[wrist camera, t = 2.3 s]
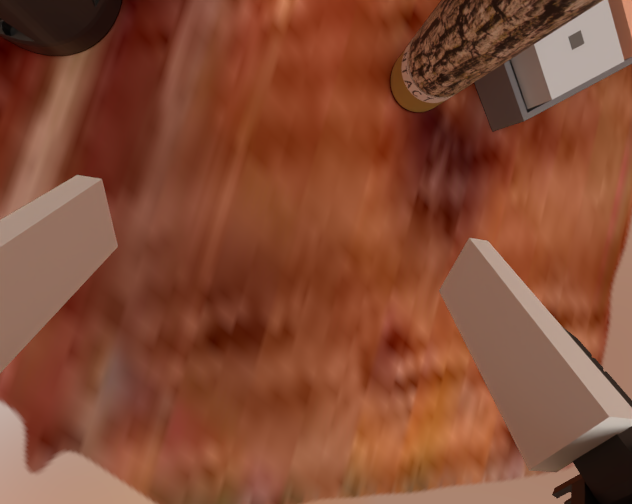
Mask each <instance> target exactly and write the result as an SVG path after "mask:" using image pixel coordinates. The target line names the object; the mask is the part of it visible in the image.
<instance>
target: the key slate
mask: <svg viewBox="0 0 632 504" xmlns="http://www.w3.org/2000/svg"><path fill="white" fill-rule="evenodd" d="M510 60H511V63H512V66H513V69H514V72H515V74H516V77H517V80H518V83H519V86H520V89H521V92H522V95H523V98H524V100H525V103H526V106H527V109H529V108H532V107H535V106H537V105H540V104H542V103H545V102H548V101H550V100H553V99H555V98H557V97H558V96H560V95H562V94H564V93H566V92H568V91H570V90H571V89H573V88H575V87H577V86H579V85H581V84H583V83H585V82H586V81H588V80H590V79H592V78H594V77H596V76H598V75H600V74H601V73H603V72H605V71H607V70H609V69H611V68H613V67H615V66H616V65H618V64H620V63H622V62H624V57H623V54H622V50H621V46H620V43H619V39H618V35H617V32H616V28H615V24H614V21H613V17H612V13H611V10H610V6H609V2H608V0H603V1H601V2H600V3H598V4H597V5H595V6H594V7H592V8H590V9H589V10H587V11H586V12H584V13H583V14H581V15H579V16H578V17H576V18H575V19H573V20H572V21H570V22H568V23H567V24H565V25H564V26H562V27H561V28H559V29H557V30H556V31H554V32H553V33H551V34H550V35H548V36H546V37H545V38H543V39H542V40H540V41H539V42H537V43H535V44H534V45H532V46H531V47H529V48H528V49H526V50H524V51H523V52H521V53H520V54H518V55H517V56H515V57H513V58H512V59H510Z"/></svg>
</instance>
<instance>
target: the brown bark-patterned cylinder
mask: <svg viewBox="0 0 632 504" xmlns="http://www.w3.org/2000/svg"><path fill="white" fill-rule="evenodd" d="M601 1H603V0H441V2H440V3H439V4H438V6H437V7H436V8H435V10H434V11H433V12H432V14H431V15H430V16H429V18H428V19H427V20H426V22H425V23H424V24H423V26H422V27H421V28H420V30H419V31H418V32H417V34H416V35H415V36H414V38H413V39H412V40H411V42H410V43H409V44H408V46H407V47H406V49H405V50H404V51H403V53H402V54H401V55H400V57H399V58H398V59H397V61H396V63H395V64H394V67H393V69H392V73H391V89H392V92H393V95H394V97H395V99H396V100H397V102H398V103H399V104H400V105H401V106H402V107H404V108H405V109H407V110H409V111H413V112H425V111H428V110H431V109H433V108H434V107H436V106H437V105H439V104H441V103H442V102H444V101H445V100H447V99H449V98H450V97H452V96H454V95H455V94H457V93H458V92H460V91H461V90H463V89H465V88H466V87H468V86H469V85H471V84H472V83H474V82H476V81H477V80H479V79H480V78H482V77H483V76H485V75H487V74H488V73H490V72H491V71H493V70H494V69H496V68H498V67H499V66H501V65H502V64H504V63H505V62H507V61H509V60H510V59H512V58H513V57H515V56H517V55H518V54H520V53H521V52H523V51H524V50H526V49H528V48H529V47H531V46H532V45H534V44H535V43H537V42H539V41H540V40H542V39H543V38H545V37H546V36H548V35H550V34H551V33H553V32H554V31H556V30H557V29H559V28H561V27H562V26H564V25H565V24H567V23H568V22H570V21H572V20H573V19H575V18H576V17H578V16H579V15H581V14H583V13H584V12H586V11H587V10H589V9H590V8H592V7H594V6H595V5H597V4H598V3H600V2H601Z"/></svg>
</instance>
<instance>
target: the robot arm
mask: <svg viewBox="0 0 632 504" xmlns="http://www.w3.org/2000/svg"><path fill="white" fill-rule="evenodd" d="M121 1H122V0H0V36H1V37H3V38H4V39H6V40H8V41H10V42H12V43H14V44H15V45H17V46H19V47H21V48H24V49H26V50H29V51H32V52H35V53H39V54H44V55H51V56H62V55H70V54H74V53H78V52H81V51H83V50H85V49H87V48H89V47H91V46H93V45H94V44H95V43H97V42H98V41H99V40H100V39H102V38H103V37H104V35H105V34H106V33H107V32H108V31H109V29H110V28H111V26H112V25H113V23H114V21H115V19H116V17H117V15H118V12H119V9H120V5H121ZM117 247H118V244H117V240H116V236H115V232H114V227H113V223H112V219H111V215H110V211H109V206H108V202H107V198H106V194H105V189H104V185H103V181H102V179H100V178H93V177H87V176H81V175H76V176H74V177H73V178H71V179H69V180H68V181H66V182H64V183H62V184H61V185H59V186H57V187H56V188H54V189H52V190H50V191H49V192H47V193H45V194H44V195H42V196H40V197H38V198H37V199H35V200H33V201H32V202H30V203H28V204H26V205H25V206H23V207H21V208H20V209H18V210H16V211H14V212H13V213H11V214H9V215H8V216H6V217H4V218H2V219H1V220H0V373H1V372H2V371H3V370H4V369H5V367H6V366H7V365H8V364H9V363H10V362H11V361H12V360H13V359H14V358H15V357H16V356H17V355H18V353H19V352H20V351H21V350H22V349H23V348H24V347H25V346H26V345H27V344H28V343H29V342H30V341H31V340H32V338H33V337H34V336H35V335H36V334H37V333H38V332H39V331H40V330H41V329H42V328H43V327H44V326H45V324H46V323H47V322H48V321H49V320H50V319H51V318H52V317H53V316H54V315H55V314H56V313H57V312H58V311H59V309H60V308H61V307H62V306H63V305H64V304H65V303H66V302H67V301H68V300H69V299H70V298H71V297H72V295H73V294H74V293H75V292H76V291H77V290H78V289H79V288H80V287H81V286H82V285H83V284H84V283H85V282H86V280H87V279H88V278H89V277H90V276H91V275H92V274H93V273H94V272H95V271H96V270H97V269H98V268H99V266H100V265H101V264H102V263H103V262H104V261H105V260H106V259H107V258H108V257H109V256H110V255H111V254H112V253H113V251H114V250H115V249H116V248H117ZM439 291H440V293H441V295H442V297H443V299H444V301H445V303H446V305H447V307H448V309H449V311H450V313H451V315H452V317H453V319H454V321H455V323H456V325H457V327H458V329H459V331H460V333H461V335H462V337H463V339H464V341H465V343H466V345H467V347H468V349H469V351H470V353H471V355H472V357H473V359H474V361H475V363H476V365H477V367H478V369H479V371H480V373H481V375H482V377H483V379H484V381H485V383H486V385H487V387H488V389H489V391H490V393H491V395H492V397H493V399H494V401H495V403H496V405H497V407H498V409H499V411H500V413H501V415H502V417H503V419H504V421H505V423H506V425H507V427H508V429H509V431H510V433H511V435H512V437H513V439H514V441H515V443H516V445H517V447H518V449H519V451H520V453H521V455H522V457H523V459H524V461H525V463H526V465H527V467H528V469H529V470H531V471H546V472H557V471H559V470H561V469H562V468H564V467H566V466H567V465H569V464H570V463H572V462H573V463H574V464H575V466H576V468H577V469H578V471H579V472H580V474H579V475H577V476H575V477H574V478H572V479H570V480H568V481H567V482H565V483H563V484H561V485H560V486H558V487H556V488H555V489H554V492H553V494H552V495H553V496H555V497H556V498H559V497H560V496H562V495H564V494H566V493H568V492H571V493H572V494H571V498H570V499H568V500H567V501H565V503H564V504H632V400H631V399H630V398H629V397H628V396H627V395H626V394H625V392H624V391H623V390H622V389H621V388H620V387H619V385H617V383H616V382H615V381H614V380H613V379H612V377H611V376H610V375H609V374H608V373H607V372H604V371H603V367H602V366H601V365H600V364H599V363H598V361H597V360H596V359H595V358H592V357H591V354H590V352H589V351H588V350H587V349H586V348H585V347H584V346H583V344H582V343H581V342H580V341H579V340H578V339H577V338H576V337H575V336H573V335H572V334H571V333H570V332H568V331H567V330H566V329H565V328H563V327H562V326H561V325H560V324H559V323H558V322H557V320H556V319H555V318H554V317H553V316H552V315H551V314H550V312H549V311H548V310H547V309H546V308H545V307H544V305H543V304H542V303H541V302H540V301H539V300H538V298H537V297H536V296H535V295H534V294H533V293H532V292H531V290H530V289H529V288H528V287H527V286H526V285H525V283H524V282H523V281H522V280H521V279H520V278H519V276H518V275H517V274H516V273H515V272H514V271H513V270H512V268H511V267H510V266H509V265H508V264H507V263H506V261H505V260H504V259H503V258H502V257H501V256H500V254H499V253H498V252H497V251H496V250H495V249H494V248H493V246H492V245H491V244H490V243H489V242H488V241H486V240H480V239H474V238H469V239H468V241H467V243H466V244H465V246H464V248H463V250H462V251H461V253H460V255H459V257H458V258H457V260H456V262H455V264H454V265H453V267H452V269H451V271H450V272H449V274H448V276H447V278H446V279H445V281H444V283H443V285H442V286H441V288H440V290H439Z"/></svg>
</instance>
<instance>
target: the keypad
mask: <svg viewBox="0 0 632 504" xmlns="http://www.w3.org/2000/svg"><path fill="white" fill-rule="evenodd" d="M630 64H632V57H630V58H628V59H625V60H624V62H622V63H620V64H618V65H616V66H615V67H613V68H611V69H609V70H607V71H605V72H603V73H601V74H600V75H598V76H596V77H594V78H592V79H590V80H588V81H586V82H585V83H583V84H581V85H579V86H577V87H575V88H573V89H571V90H570V91H568V92H566V93H564V94H562V95H560V96H558V97H557V98H555V99H553V100H550V101H548V102H545V103H542V104H540V105H537V106H535V107H532V108H529V109H527V106H526V103H525V100H524V98H523V95H522V92H521V89H520V86H519V83H518V80H517V77H516V74H515V72H514V69H513V66H512V63H511V60H509V61H507V62H505V63H504V64H502V65H501V66H499V67H498V68H496V69H494V70H493V71H491V72H490V73H488V74H487V75H485V76H483V77H482V78H480V79H479V80H477V81H476V82H474V83H475V86H476V89H477V91H478V94H479V97H480V99H481V102H482V105H483V107H484V110H485V113H486V115H487V118H488V121H489V124H490V126H491V129H492V132H493V131H496V130H499V129H502V128H505V127H508V126H511V125H514V124H517V123H520V122H523V121H525V120H527V119H529V118H531V117H533V116H535V115H536V114H538V113H540V112H542V111H544V110H546V109H548V108H550V107H551V106H553V105H555V104H557V103H559V102H561V101H563V100H565V99H566V98H568V97H570V96H572V95H574V94H576V93H578V92H579V91H581V90H583V89H585V88H587V87H589V86H591V85H593V84H594V83H596V82H598V81H600V80H602V79H604V78H606V77H608V76H609V75H611V74H613V73H615V72H617V71H619V70H621V69H623V68H624V67H626V66H628V65H630Z"/></svg>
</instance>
